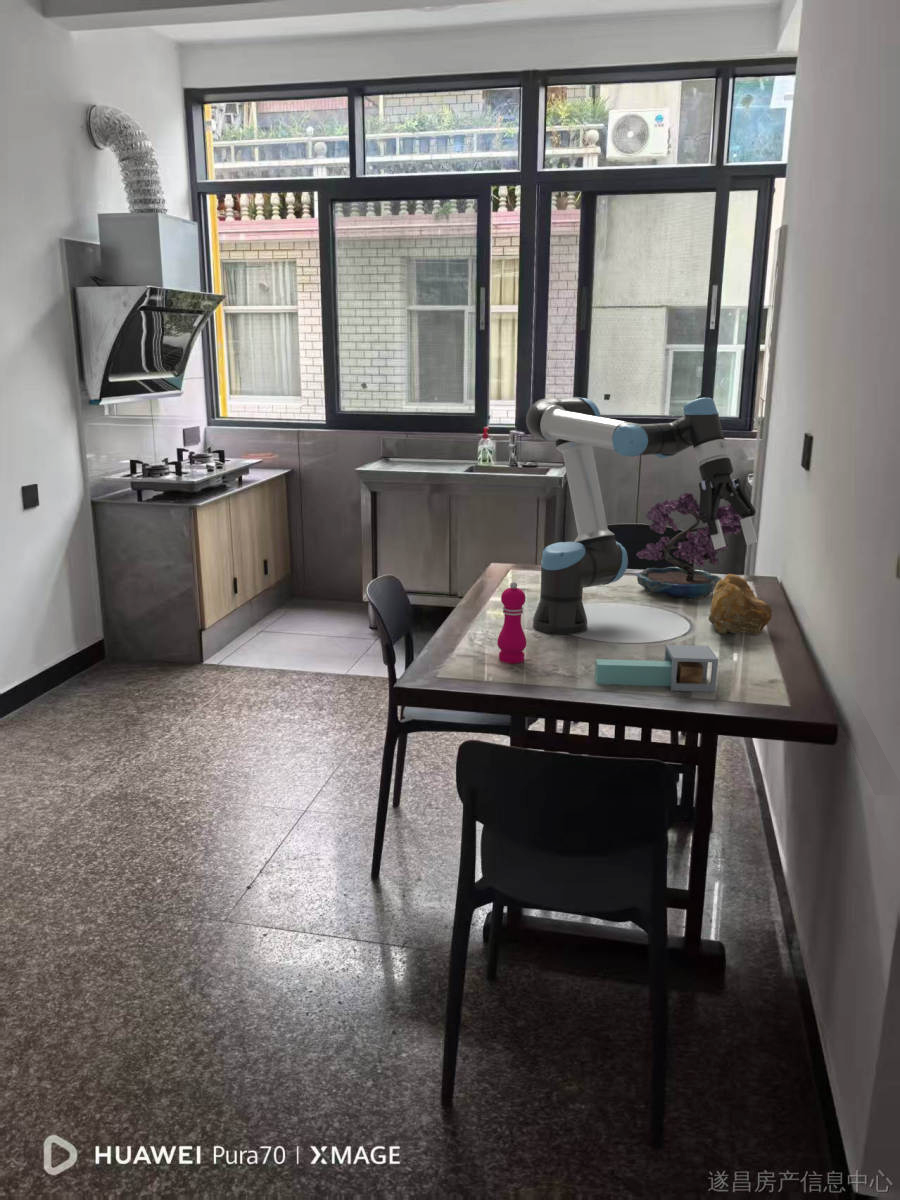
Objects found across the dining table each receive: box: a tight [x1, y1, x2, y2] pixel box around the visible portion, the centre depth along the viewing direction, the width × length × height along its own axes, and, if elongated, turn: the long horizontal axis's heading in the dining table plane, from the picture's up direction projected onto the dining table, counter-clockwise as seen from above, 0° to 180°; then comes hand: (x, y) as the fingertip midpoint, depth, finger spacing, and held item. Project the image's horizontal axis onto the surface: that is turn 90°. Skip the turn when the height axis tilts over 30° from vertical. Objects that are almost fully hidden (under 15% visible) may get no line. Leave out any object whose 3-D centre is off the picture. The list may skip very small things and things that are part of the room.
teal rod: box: [594, 658, 672, 687], centre depth 213 cm, size 18×4×5 cm, turn 87°
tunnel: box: [663, 644, 719, 693], centre depth 212 cm, size 10×10×8 cm
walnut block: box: [676, 661, 704, 684], centre depth 212 cm, size 5×5×5 cm
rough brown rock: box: [708, 573, 773, 636], centre depth 254 cm, size 23×16×15 cm
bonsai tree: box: [635, 492, 742, 600], centre depth 293 cm, size 35×27×32 cm
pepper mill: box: [496, 581, 527, 664], centre depth 226 cm, size 7×7×20 cm
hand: (736, 545), depth 219 cm, fingers open, 13 cm apart
